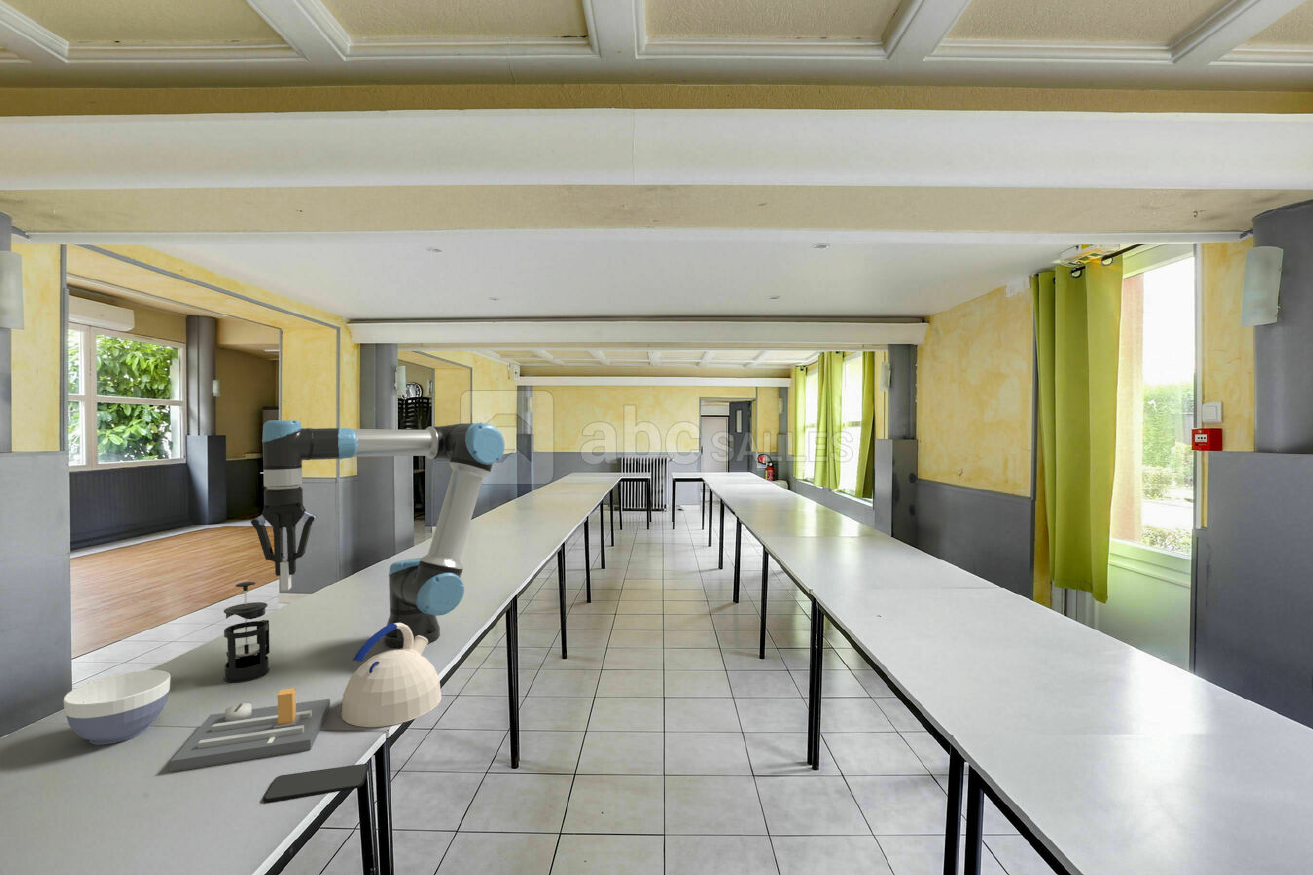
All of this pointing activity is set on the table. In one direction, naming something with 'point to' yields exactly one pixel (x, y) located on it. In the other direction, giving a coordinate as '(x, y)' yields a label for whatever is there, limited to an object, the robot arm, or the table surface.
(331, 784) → the smartphone
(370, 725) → the kettle
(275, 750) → the console board
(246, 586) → the french press
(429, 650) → the table surface
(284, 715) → the fader tab
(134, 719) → the bowl
